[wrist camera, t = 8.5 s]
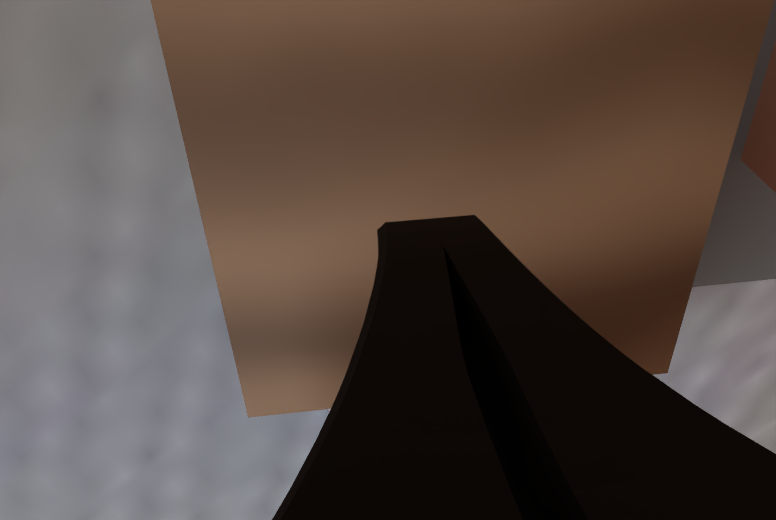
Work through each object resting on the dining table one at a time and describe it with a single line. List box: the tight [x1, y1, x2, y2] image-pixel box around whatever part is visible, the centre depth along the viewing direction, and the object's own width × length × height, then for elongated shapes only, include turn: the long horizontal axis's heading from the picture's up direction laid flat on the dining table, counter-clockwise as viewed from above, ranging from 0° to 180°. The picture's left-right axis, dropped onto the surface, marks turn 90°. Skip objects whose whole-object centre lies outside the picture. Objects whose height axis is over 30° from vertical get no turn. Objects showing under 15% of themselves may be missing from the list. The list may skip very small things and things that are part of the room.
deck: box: [151, 0, 774, 417], centre depth 16 cm, size 18×12×4 cm, turn 2°
